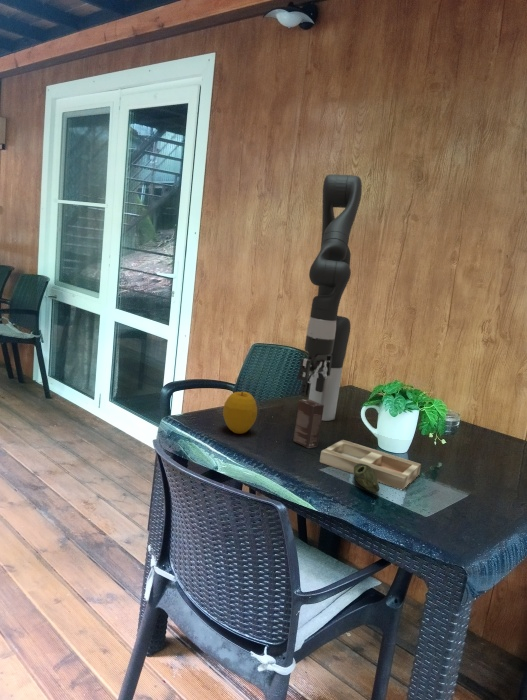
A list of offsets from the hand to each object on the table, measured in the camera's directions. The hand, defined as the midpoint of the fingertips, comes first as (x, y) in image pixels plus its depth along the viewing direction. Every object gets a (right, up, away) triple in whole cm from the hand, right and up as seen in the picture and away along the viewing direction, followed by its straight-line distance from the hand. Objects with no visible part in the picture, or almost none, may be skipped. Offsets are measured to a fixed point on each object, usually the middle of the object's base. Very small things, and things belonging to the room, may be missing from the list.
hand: (311, 393), depth 155 cm
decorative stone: (+11, -20, -21) cm, 31 cm away
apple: (-20, -11, +6) cm, 24 cm away
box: (-2, -14, +3) cm, 15 cm away
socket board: (+14, -18, -10) cm, 25 cm away
